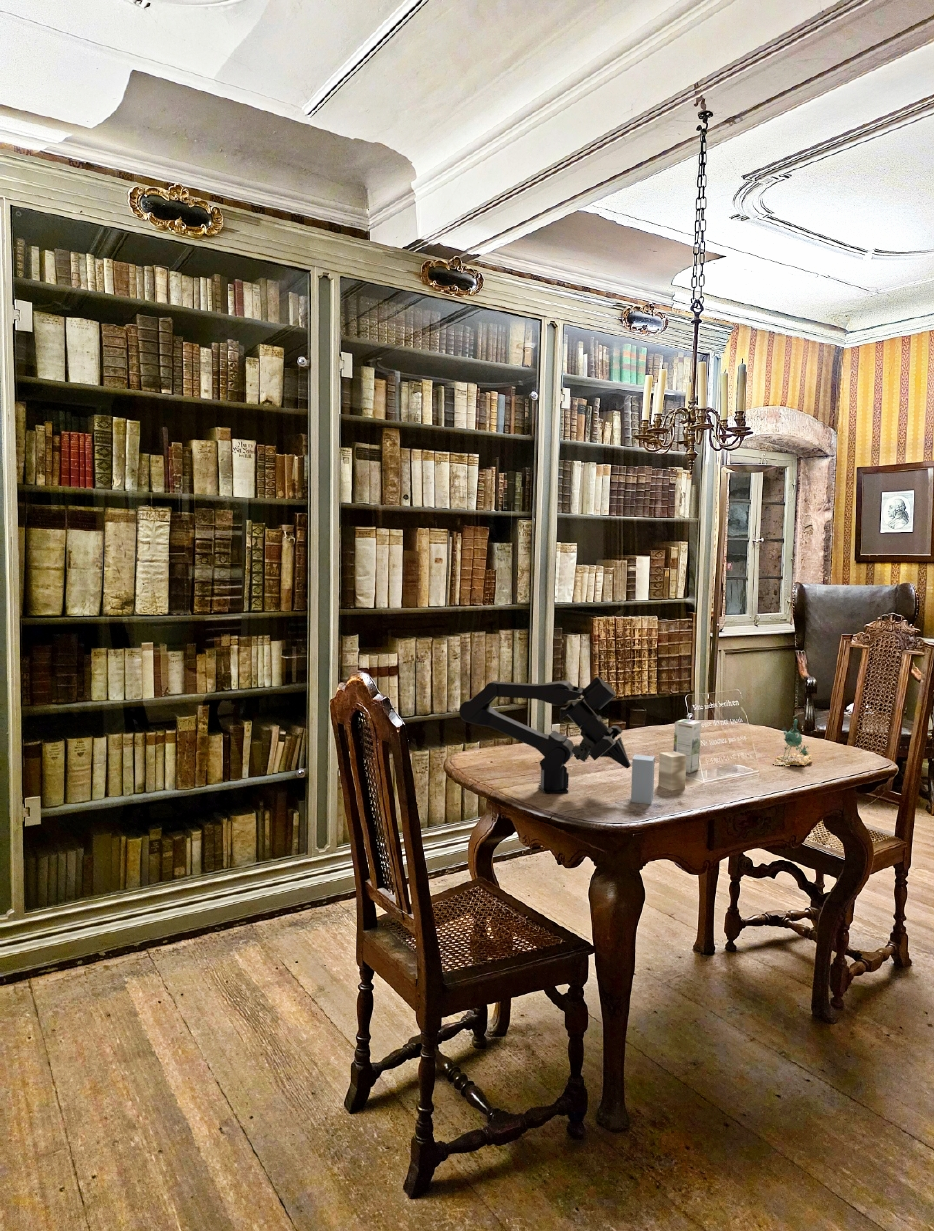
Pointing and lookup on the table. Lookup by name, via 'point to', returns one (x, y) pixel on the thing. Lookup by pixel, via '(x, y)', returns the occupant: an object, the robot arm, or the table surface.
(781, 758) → the frog figurine
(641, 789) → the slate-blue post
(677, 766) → the birch post
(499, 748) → the table surface
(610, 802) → the table surface
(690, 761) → the syrup box
